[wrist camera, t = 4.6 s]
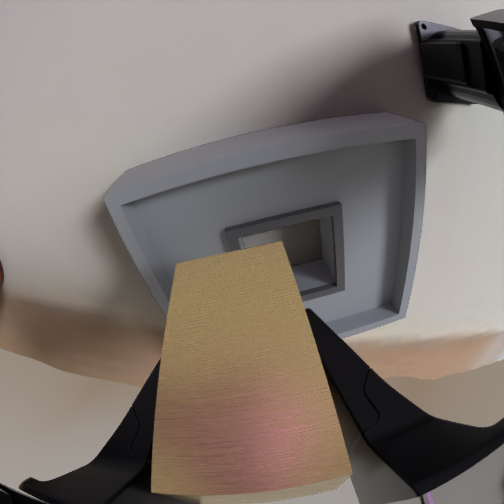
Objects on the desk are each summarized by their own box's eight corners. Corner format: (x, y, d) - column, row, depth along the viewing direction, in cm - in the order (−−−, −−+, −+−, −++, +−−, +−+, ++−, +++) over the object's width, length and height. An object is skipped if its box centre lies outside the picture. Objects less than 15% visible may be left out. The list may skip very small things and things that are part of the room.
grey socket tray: (386, 112, 16) (425, 124, 12) (384, 284, 25) (405, 317, 21) (126, 170, 17) (102, 196, 13) (201, 330, 26) (200, 370, 22)
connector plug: (281, 240, 10) (352, 473, 4) (292, 314, 13) (336, 488, 6) (176, 263, 10) (151, 492, 4) (206, 330, 13) (211, 505, 6)
